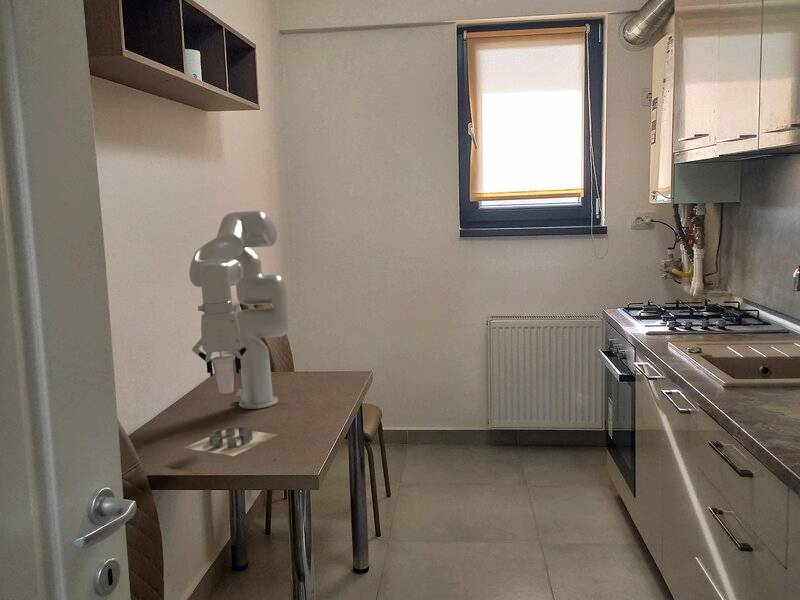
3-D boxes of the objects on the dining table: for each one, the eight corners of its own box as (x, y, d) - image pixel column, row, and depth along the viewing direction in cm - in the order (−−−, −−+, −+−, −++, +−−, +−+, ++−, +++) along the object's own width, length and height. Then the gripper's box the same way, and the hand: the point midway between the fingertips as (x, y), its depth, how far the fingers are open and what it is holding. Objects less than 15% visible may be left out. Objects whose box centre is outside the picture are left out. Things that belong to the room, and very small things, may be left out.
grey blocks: (201, 445, 203) (200, 436, 203) (230, 432, 213) (229, 424, 212) (232, 450, 197) (231, 441, 197) (261, 436, 207) (260, 428, 207)
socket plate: (183, 453, 202) (183, 448, 202) (229, 432, 217) (229, 427, 217) (234, 461, 193) (233, 456, 193) (278, 439, 208) (277, 434, 208)
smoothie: (216, 389, 206) (211, 339, 204) (239, 387, 206) (235, 338, 204) (212, 395, 200) (207, 344, 198) (236, 393, 200) (231, 342, 198)
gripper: (184, 313, 194) (191, 380, 197) (251, 307, 198) (258, 372, 201) (184, 309, 201) (191, 374, 204) (249, 303, 205) (255, 367, 208)
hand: (224, 373), depth 202 cm, fingers closed on smoothie, 6 cm apart
